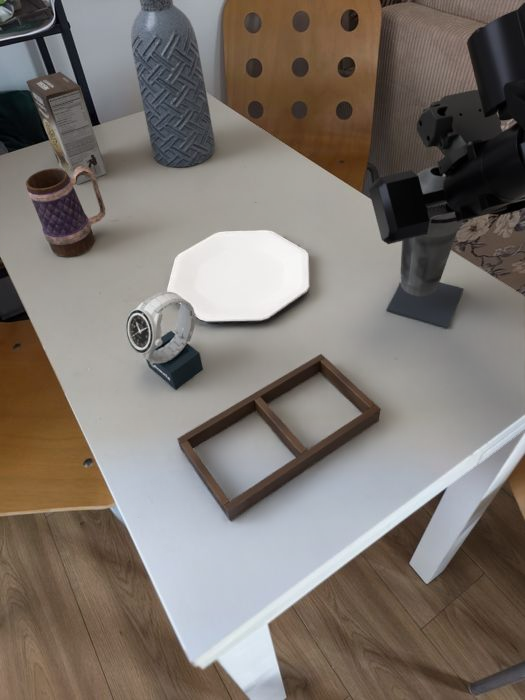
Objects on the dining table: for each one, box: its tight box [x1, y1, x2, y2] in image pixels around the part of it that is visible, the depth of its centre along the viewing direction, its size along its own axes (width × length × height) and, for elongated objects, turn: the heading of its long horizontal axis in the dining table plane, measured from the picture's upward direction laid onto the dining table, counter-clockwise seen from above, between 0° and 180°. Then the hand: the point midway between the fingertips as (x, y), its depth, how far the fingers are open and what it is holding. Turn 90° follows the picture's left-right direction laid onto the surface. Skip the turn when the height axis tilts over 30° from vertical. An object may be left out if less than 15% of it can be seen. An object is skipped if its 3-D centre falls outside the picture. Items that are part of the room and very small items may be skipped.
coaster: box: [385, 281, 464, 330], centre depth 69 cm, size 8×8×1 cm
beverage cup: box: [400, 165, 464, 296], centre depth 58 cm, size 7×7×20 cm
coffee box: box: [25, 71, 107, 185], centre depth 93 cm, size 9×6×16 cm
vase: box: [130, 0, 216, 168], centre depth 91 cm, size 12×12×28 cm
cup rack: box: [177, 353, 382, 522], centre depth 55 cm, size 10×19×2 cm, turn 125°
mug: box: [25, 165, 106, 258], centre depth 79 cm, size 10×7×12 cm
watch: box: [125, 291, 204, 391], centre depth 60 cm, size 6×8×11 cm
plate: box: [166, 229, 310, 324], centre depth 74 cm, size 20×20×2 cm
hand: (425, 213), depth 60 cm, fingers closed on beverage cup, 7 cm apart
